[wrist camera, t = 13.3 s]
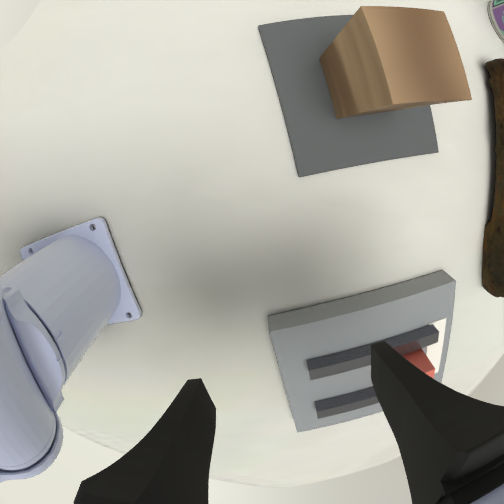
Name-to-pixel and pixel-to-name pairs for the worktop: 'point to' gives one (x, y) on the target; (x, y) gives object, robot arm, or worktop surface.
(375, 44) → the tan wooden post
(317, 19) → the mat
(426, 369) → the lever
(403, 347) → the panel
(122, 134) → the worktop surface
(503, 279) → the hand tool
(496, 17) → the spray can
